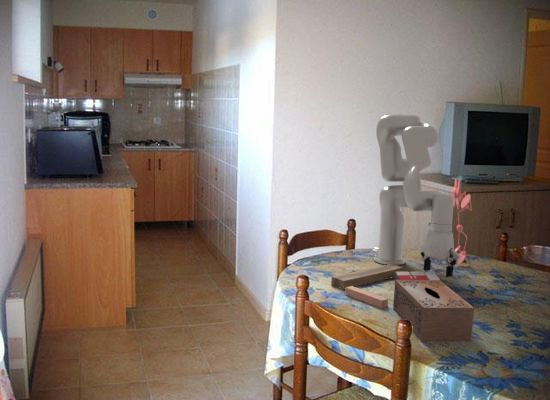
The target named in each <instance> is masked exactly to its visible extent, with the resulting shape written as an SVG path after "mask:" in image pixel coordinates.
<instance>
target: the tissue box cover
mask: <svg viewBox="0 0 550 400" xmlns="http://www.w3.org/2000/svg"><path fill="white" fill-rule="evenodd" d="M440 280H441V279H440ZM440 280H395V279H394V291H393V293H394V294H393V304H392V305H393V306H392V307H393V308H392V309H393V311H394V312H395V314H396V315H397V316H398V317H399V318H400V320H402V319H407V320H409V321H411V323H412V326H413V332H412V333H413V334H414V336H415V337H416V338H417V339H418V340H419V341H420V342H421V343H422V342H423V343H424V342H425V343H426V342H427V343H429V342H434V343H437V342H438V343H440V342H446V343H447V342H450V343H451V342H472V338H473V337H472V336H473V328H474V326H473V324H474V317H475V316H474V315H475V307H474V306H473V305H471V303H470V302H468V301H466V300H465V299H464V298H462V296H460V295H459V294H457V293H456V291H454V290H453V289H451V288H450V287H449V286H448V285H446V284H445V283H444V282H443V281H442V280H441V281H442V282H441V281H440Z"/></svg>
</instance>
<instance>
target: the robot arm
mask: <svg viewBox="0 0 550 400" xmlns="http://www.w3.org/2000/svg"><path fill="white" fill-rule="evenodd" d="M375 130H376V131H375V133H376V138H377V143H378V146H379V156H380V158H379V159H380V171H381V176H382V177H381V178H382V179H383V180H384V181H385V182H388V183H403V184H396V185H394V184H393V185H386V186H384V187H383V188H382V189H381V190H380V192H379V194H378V195H379V198H378V199H379V205H380V207H379V208H380V221H379V222H380V223H379V237H378V247H374V248H373V249H372V250H371V252H372V253H374V254H376V255H375V256H374V258H373V261H374V262H375V263H377V264H381V265H386V264H387V265H388V264H393V265H397V266H401V265H404V264H405V263H406V259H405V258H403V257H402V255H403V254H402V253H403V245H404V244H403V243H404V231H405V230H404V228H405V217H404V215H403V213H402V211H401V209H410V210H411V211H413V212H415V213H417V212H419V213H420V212H431V213H430V214H431V215H430V222H428V224H427V225H428V226H429V229H428V230H427V233H426V236H425V240H424V241H425V242H424V245H422V246H419V247H418V248H419V249H418V250H419V252H420V256H421V257H422V261H423V272H429V271H431V267H432V260H431V259H433V260H434V259H435V260H438V261H445V263H446V264H447V266H445V268H446V269H445V277H446V278H450V277H452V276H453V275H454V267H455V266H456V265H457V263H458V261H459V259H460V257H461V256H460V255H459V254H460V253H458V251H457V252H455V251H454V250H455V242H454V241H455V240H454V233H453V232H452V229H453V216H454V213H453V212H454V205H453V203H454V197H453V194H449V193H442V192H441V191H438V190H422V185H421V184H422V183H421V172H422V171H424V170H427V169H428V168H429V167H430V166H431V165H432V159H431V156H430V152H429V149H431V148H434V147H435V146H436V145H437V143H438V141H439V135H438V132H437V130H436V128H435V127H434V126H433V125H432V124H430V123H429V122H427V120H425V119H423V118H421V117H420V116H418V115H415V114H397V113H396V114H387V115H384V116H382V117H381V118H380V119H379V120H378V122H377V123H376V129H375ZM396 137H401V139H402V140H401V141H402V144H403V145H402V146H403V150H404V154H405V158H403V156H402V147H401V145H400V143H399V141H398V140H397V138H396ZM453 258H454V259H453Z"/></svg>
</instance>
